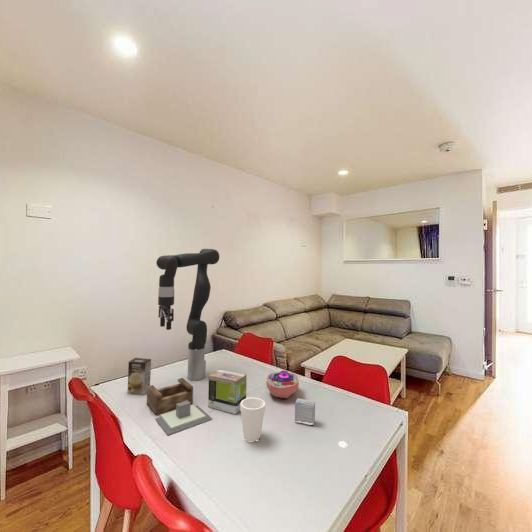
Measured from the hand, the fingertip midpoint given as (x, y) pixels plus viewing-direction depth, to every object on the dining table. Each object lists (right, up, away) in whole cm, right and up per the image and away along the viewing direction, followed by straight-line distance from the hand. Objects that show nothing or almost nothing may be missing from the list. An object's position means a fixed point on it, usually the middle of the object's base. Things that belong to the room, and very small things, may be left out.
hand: (165, 328), depth 141 cm
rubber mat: (+16, -34, -23) cm, 43 cm away
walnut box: (+6, -33, -10) cm, 35 cm away
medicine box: (+67, -35, -22) cm, 78 cm away
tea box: (+32, -34, -10) cm, 48 cm away
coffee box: (-14, -33, +2) cm, 36 cm away
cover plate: (+15, -33, -22) cm, 42 cm away
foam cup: (+45, -35, -33) cm, 66 cm away
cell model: (+59, -35, +3) cm, 68 cm away
